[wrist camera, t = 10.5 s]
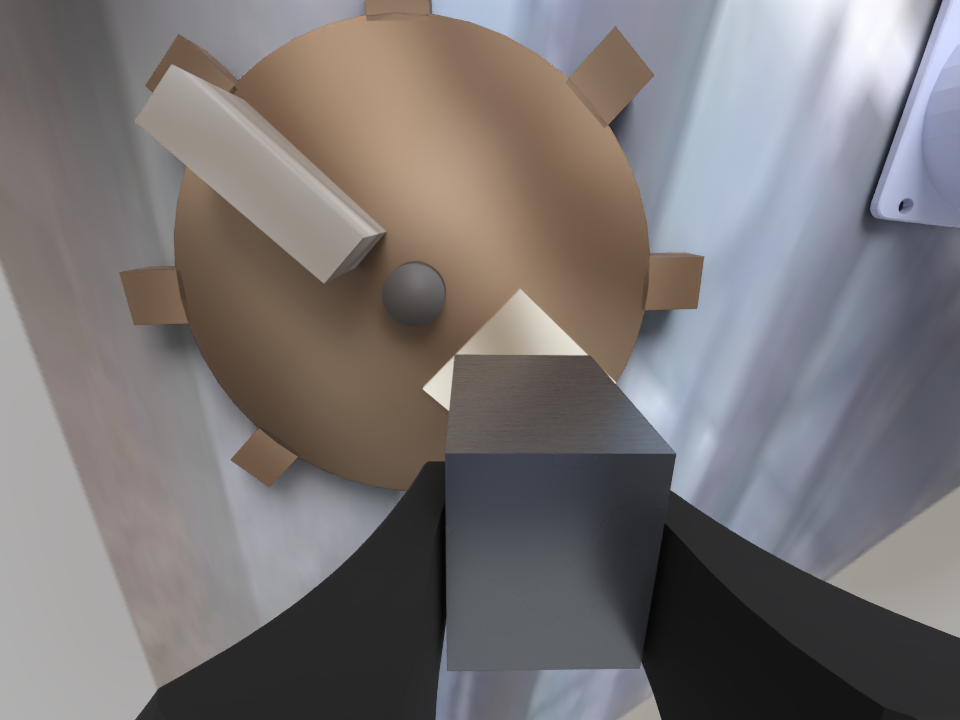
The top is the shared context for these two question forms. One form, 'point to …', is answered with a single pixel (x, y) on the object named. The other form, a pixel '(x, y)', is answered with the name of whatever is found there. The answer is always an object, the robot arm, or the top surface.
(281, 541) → the top surface
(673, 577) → the robot arm
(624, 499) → the link block
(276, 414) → the sprocket wheel
